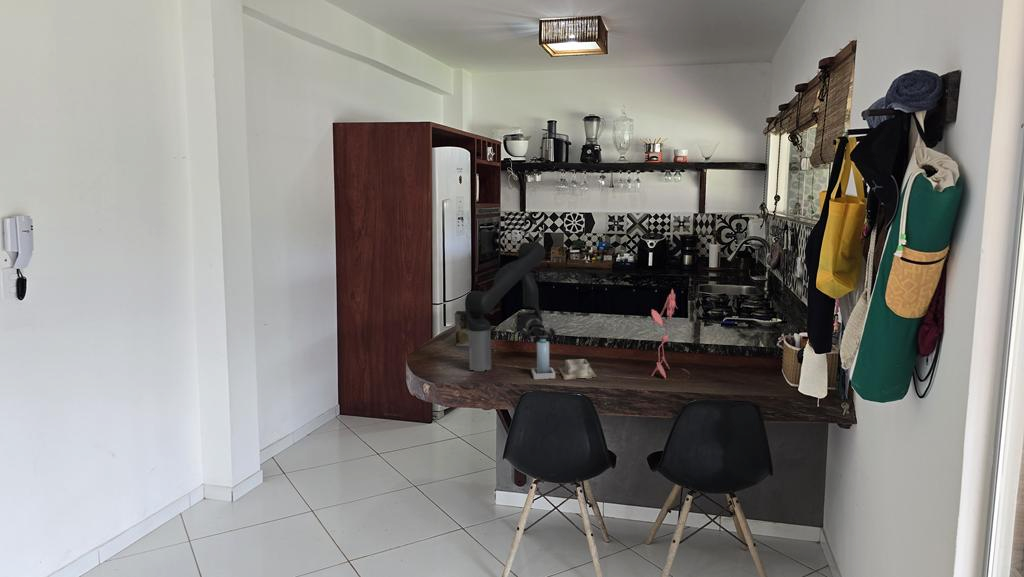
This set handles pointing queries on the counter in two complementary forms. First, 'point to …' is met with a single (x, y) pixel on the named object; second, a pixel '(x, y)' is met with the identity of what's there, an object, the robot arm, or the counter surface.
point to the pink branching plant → (658, 319)
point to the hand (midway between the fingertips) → (539, 337)
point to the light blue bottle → (542, 356)
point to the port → (577, 369)
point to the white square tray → (543, 374)
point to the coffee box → (461, 329)
